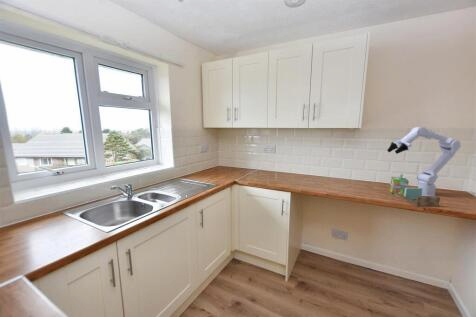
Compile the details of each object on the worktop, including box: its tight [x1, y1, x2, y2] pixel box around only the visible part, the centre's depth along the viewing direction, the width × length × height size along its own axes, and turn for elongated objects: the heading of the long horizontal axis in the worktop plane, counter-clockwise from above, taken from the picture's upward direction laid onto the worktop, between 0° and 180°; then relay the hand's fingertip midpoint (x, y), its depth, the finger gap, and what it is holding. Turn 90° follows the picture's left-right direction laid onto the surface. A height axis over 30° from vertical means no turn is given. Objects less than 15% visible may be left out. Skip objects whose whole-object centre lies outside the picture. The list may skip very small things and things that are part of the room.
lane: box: [394, 193, 441, 207], centre depth 140 cm, size 14×19×6 cm
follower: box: [403, 187, 423, 200], centre depth 142 cm, size 11×2×8 cm, turn 90°
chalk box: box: [389, 174, 410, 196], centre depth 155 cm, size 9×9×15 cm
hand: (391, 151), depth 148 cm, fingers open, 7 cm apart
